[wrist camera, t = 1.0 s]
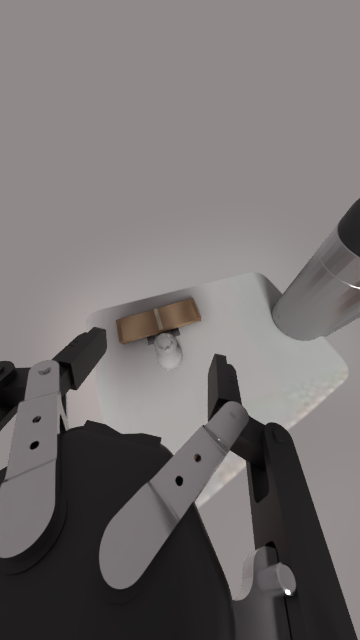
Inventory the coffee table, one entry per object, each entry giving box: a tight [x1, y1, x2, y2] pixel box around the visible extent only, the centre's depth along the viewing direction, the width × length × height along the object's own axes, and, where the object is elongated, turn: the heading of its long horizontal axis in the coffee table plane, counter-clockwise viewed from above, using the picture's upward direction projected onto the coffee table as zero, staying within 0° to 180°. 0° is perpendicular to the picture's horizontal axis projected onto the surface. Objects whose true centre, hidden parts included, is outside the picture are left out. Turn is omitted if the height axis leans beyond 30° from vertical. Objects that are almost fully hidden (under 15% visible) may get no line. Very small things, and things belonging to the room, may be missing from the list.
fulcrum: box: [147, 328, 180, 344], centre depth 34 cm, size 6×7×1 cm
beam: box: [116, 298, 201, 344], centre depth 33 cm, size 15×4×1 cm, turn 108°
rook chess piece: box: [154, 333, 182, 370], centre depth 28 cm, size 4×4×8 cm
